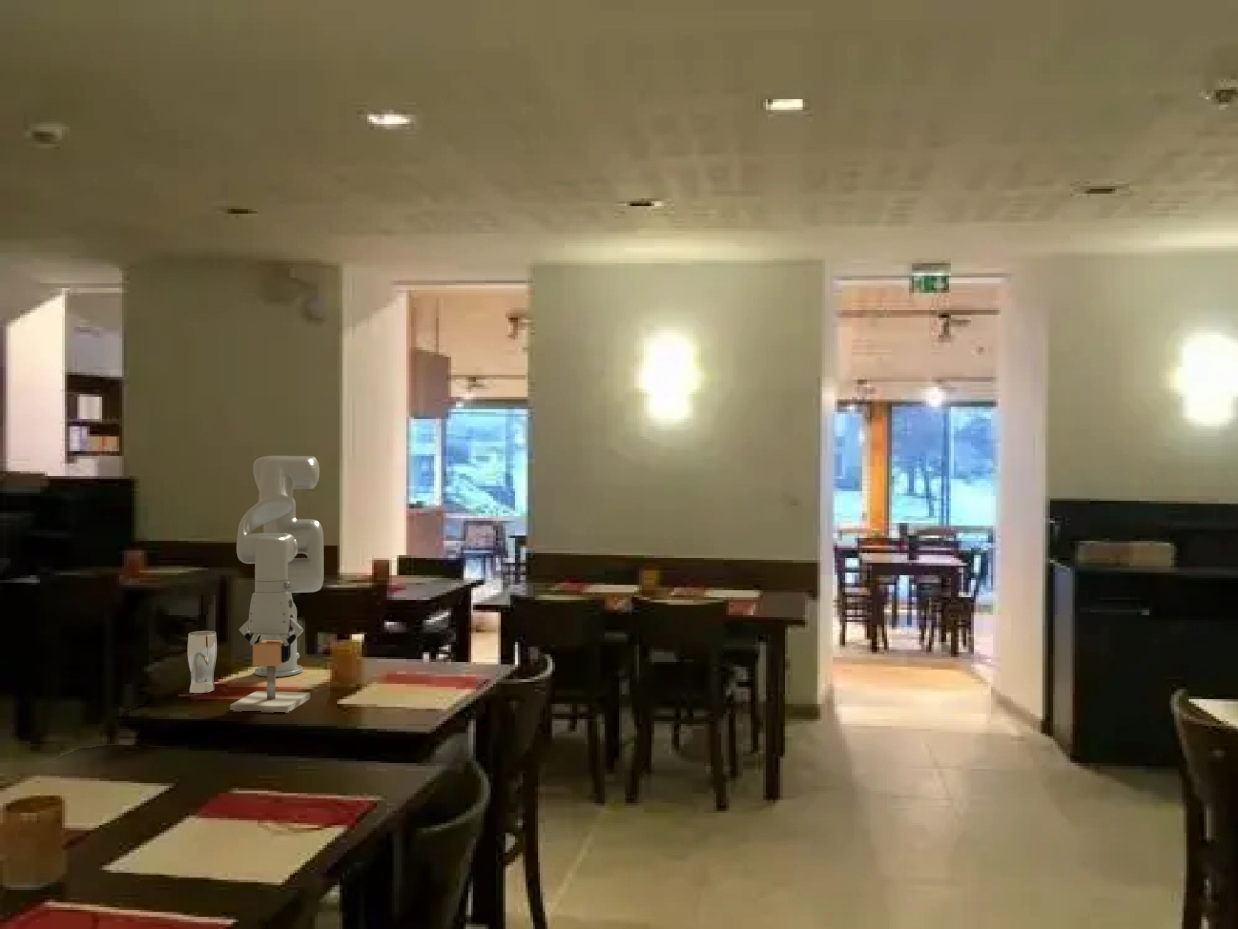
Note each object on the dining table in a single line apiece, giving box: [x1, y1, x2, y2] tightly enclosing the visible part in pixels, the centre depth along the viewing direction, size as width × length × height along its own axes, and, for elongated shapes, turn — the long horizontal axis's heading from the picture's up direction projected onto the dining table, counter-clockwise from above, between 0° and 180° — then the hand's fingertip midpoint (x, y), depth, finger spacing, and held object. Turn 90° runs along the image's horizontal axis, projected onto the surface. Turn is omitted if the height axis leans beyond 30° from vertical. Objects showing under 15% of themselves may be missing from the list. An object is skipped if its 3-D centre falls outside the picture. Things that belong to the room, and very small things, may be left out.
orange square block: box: [252, 640, 288, 667], centre depth 255 cm, size 6×6×5 cm
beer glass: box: [187, 630, 218, 694], centre depth 268 cm, size 7×7×15 cm
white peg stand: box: [229, 666, 311, 714], centre depth 255 cm, size 14×14×10 cm
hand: (271, 660), depth 255 cm, fingers closed on orange square block, 6 cm apart
